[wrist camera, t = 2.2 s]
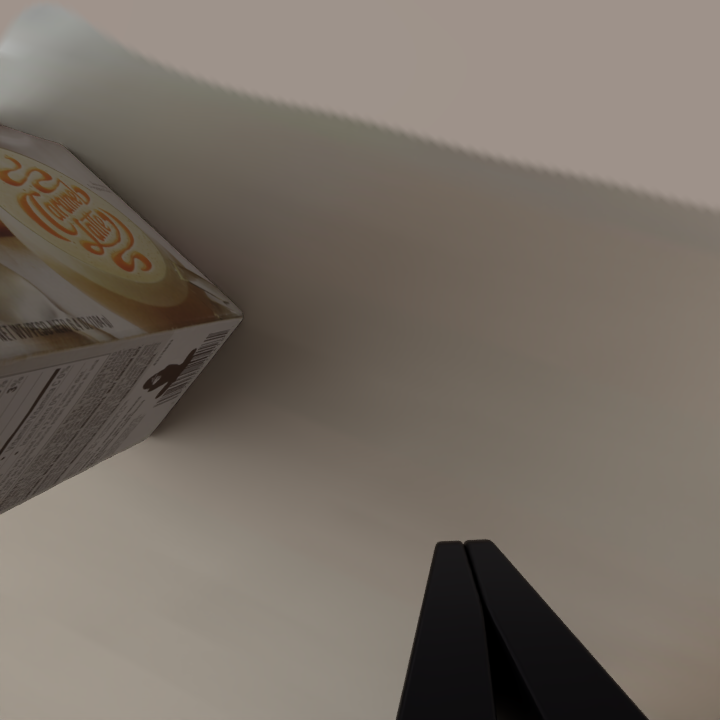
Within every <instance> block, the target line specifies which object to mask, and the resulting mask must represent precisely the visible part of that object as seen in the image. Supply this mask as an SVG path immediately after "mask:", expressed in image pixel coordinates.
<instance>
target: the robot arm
mask: <svg viewBox="0 0 720 720" xmlns="http://www.w3.org/2000/svg"><path fill="white" fill-rule="evenodd" d="M396 720H649V719H648V718H647V717H646V716H645V715H644V714H643V713H642V711H641V710H640V709H639V708H638V707H637V706H636V705H635V703H634V702H633V701H632V700H631V699H630V698H629V697H628V695H627V694H626V693H625V692H624V691H623V690H622V689H621V688H620V686H619V685H618V684H617V683H616V682H615V681H614V680H613V678H612V677H611V676H610V675H609V674H608V673H607V672H606V670H605V669H604V668H603V667H602V666H601V665H600V664H599V662H598V661H597V660H596V659H595V658H594V657H593V656H592V655H591V653H590V652H589V651H588V650H587V649H586V648H585V647H584V645H583V644H582V643H581V642H580V641H579V640H578V639H577V637H576V636H575V635H574V634H573V633H572V632H571V631H570V629H569V628H568V627H567V626H566V625H565V624H564V623H563V621H562V620H561V619H560V618H559V617H558V616H557V615H556V614H555V612H554V611H553V610H552V609H551V608H550V607H549V606H548V604H547V603H546V602H545V601H544V600H543V599H542V598H541V596H540V595H539V594H538V593H537V592H536V591H535V590H534V588H533V587H532V586H531V585H530V584H529V583H528V582H527V581H526V579H525V578H524V577H523V576H522V575H521V574H520V573H519V571H518V570H517V569H516V568H515V567H514V566H513V565H512V563H511V562H510V561H509V560H508V559H507V558H506V557H505V555H504V554H503V553H502V552H501V551H500V550H499V549H498V548H497V546H496V545H495V544H494V543H493V542H492V541H490V540H487V539H483V540H467V541H465V542H464V544H463V543H462V542H461V541H441V542H438V543H437V544H436V546H435V550H434V554H433V558H432V563H431V567H430V572H429V576H428V580H427V585H426V589H425V594H424V598H423V602H422V607H421V611H420V616H419V620H418V624H417V629H416V633H415V638H414V642H413V646H412V651H411V655H410V660H409V664H408V668H407V673H406V677H405V682H404V686H403V690H402V695H401V699H400V704H399V708H398V712H397V717H396Z"/></svg>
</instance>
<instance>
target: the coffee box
mask: <svg viewBox="0 0 720 720" xmlns="http://www.w3.org/2000/svg"><path fill="white" fill-rule="evenodd" d="M242 319H243V314H242V312H241V310H240V309H239V308H238V307H237V306H236V305H235V304H234V303H233V302H232V301H230V300H229V299H228V298H227V297H226V296H225V295H224V294H223V293H222V292H221V291H220V290H219V289H218V288H217V287H216V286H215V285H214V284H213V283H212V282H211V281H209V280H208V279H207V278H206V277H205V276H204V275H203V274H202V273H201V272H200V271H199V270H198V269H196V268H195V267H194V266H193V265H192V264H191V263H190V262H189V261H188V260H187V259H186V258H185V257H183V256H182V255H181V254H180V253H179V252H178V251H177V250H176V249H175V248H174V247H173V246H172V245H170V244H169V243H168V242H167V241H166V240H165V239H164V238H163V237H162V236H161V235H160V234H159V233H158V232H156V231H155V230H154V229H153V228H152V227H151V226H150V225H149V224H148V223H147V222H146V221H144V220H143V219H142V218H141V217H140V216H139V215H138V214H137V213H136V212H135V211H134V210H133V209H132V208H131V207H129V206H128V205H127V204H126V203H125V202H124V201H123V200H122V199H121V198H120V197H119V196H117V195H116V194H115V193H114V192H113V191H112V190H111V189H110V188H109V187H108V186H107V185H105V184H104V183H103V182H102V181H101V180H100V179H99V178H98V177H97V176H96V175H95V174H93V173H92V172H91V171H90V170H89V169H88V168H87V167H86V166H85V165H84V164H83V163H81V162H80V161H79V160H78V159H77V158H76V157H75V156H74V155H73V154H72V153H71V152H70V151H68V150H67V149H66V148H65V147H64V146H63V145H61V144H58V143H55V142H52V141H49V140H45V139H42V138H39V137H36V136H33V135H30V134H27V133H24V132H21V131H18V130H15V129H12V128H9V127H6V126H2V125H0V514H2V513H4V512H6V511H8V510H10V509H12V508H13V507H15V506H17V505H20V504H22V503H24V502H25V501H27V500H29V499H31V498H33V497H35V496H37V495H39V494H41V493H43V492H45V491H47V490H48V489H50V488H52V487H54V486H56V485H58V484H59V483H61V482H63V481H65V480H67V479H69V478H71V477H74V476H76V475H78V474H80V473H82V472H84V471H86V470H87V469H89V468H91V467H93V466H95V465H96V464H98V463H100V462H102V461H104V460H106V459H108V458H110V457H112V456H114V455H116V454H118V453H120V452H122V451H124V450H126V449H128V448H130V447H132V446H134V445H136V444H138V443H140V442H142V441H144V440H145V439H146V438H147V437H149V436H150V435H151V433H152V432H153V431H154V430H155V429H156V428H157V426H158V425H159V424H160V423H161V421H162V420H163V419H164V418H165V416H166V415H167V414H168V413H169V411H170V410H171V409H172V407H173V406H174V405H175V404H176V402H177V401H178V400H179V399H180V397H181V396H182V395H183V394H184V392H185V391H186V390H187V389H188V387H189V386H190V385H191V384H192V382H193V381H194V380H195V379H196V378H197V376H198V375H199V374H200V373H201V371H202V370H203V369H204V368H205V366H206V365H207V364H208V363H209V361H210V360H211V359H212V358H213V356H214V355H215V354H216V352H217V351H218V350H219V349H220V347H221V346H222V345H223V343H224V342H225V341H226V339H227V338H228V337H229V336H230V334H231V333H232V332H233V331H234V329H235V328H236V327H237V326H238V324H239V323H240V322H241V321H242Z"/></svg>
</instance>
